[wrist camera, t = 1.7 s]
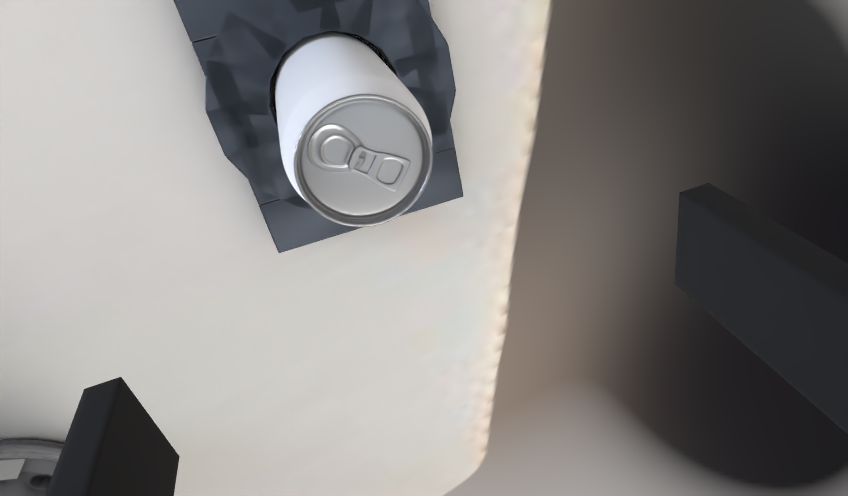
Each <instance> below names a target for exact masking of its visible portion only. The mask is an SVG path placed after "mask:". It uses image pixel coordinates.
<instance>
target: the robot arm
mask: <svg viewBox="0 0 848 496" xmlns="http://www.w3.org/2000/svg"><path fill="white" fill-rule="evenodd" d="M675 284H676V285H677V286H678V287H679V288H680V289H681V290H683V291H684V292H685V293H686V294H687V295H689V297H691V298H692V299H693V300H694V301H695V302H696V303H697V304H699V305H700V306H701V307H702V308H703V309H704V310H706V311H707V312H708V313H709V314H710V315H711V316H712V317H714V318H715V319H716V320H717V321H718V322H719V323H721V324H722V325H723V326H724V327H725V328H726V329H727V330H729V331H730V332H731V333H732V334H733V335H734V336H735V337H737V338H738V339H739V340H740V341H741V342H742V343H744V344H745V345H746V346H747V347H748V348H749V349H751V350H752V351H753V352H754V353H755V354H756V355H757V356H759V357H760V358H761V359H762V360H763V361H764V362H765V363H767V364H768V365H769V366H770V367H771V368H772V369H773V370H775V371H776V372H777V373H778V374H779V375H780V376H782V377H783V378H784V379H785V380H786V381H787V382H788V383H790V384H791V385H792V386H793V387H794V388H795V389H797V390H798V391H799V392H800V393H801V394H802V395H803V396H805V397H806V398H807V399H808V400H809V401H810V402H811V403H813V404H814V405H815V406H816V407H817V408H818V409H820V410H821V411H822V412H823V413H824V414H825V415H826V416H828V417H829V418H830V419H831V420H832V421H834V422H835V423H836V424H837V425H838V426H839V427H840V428H842V429H843V430H844V431H845V432H846V433H847V434H848V264H847V263H846V262H844V261H842V260H841V259H839V258H837V257H835V256H834V255H832V254H830V253H829V252H827V251H825V250H823V249H822V248H820V247H818V246H816V245H815V244H813V243H811V242H810V241H808V240H806V239H804V238H803V237H801V236H799V235H797V234H795V233H794V232H792V231H790V230H789V229H787V228H785V227H784V226H782V225H780V224H778V223H777V222H775V221H773V220H771V219H769V218H768V217H766V216H765V215H763V214H761V213H759V212H758V211H756V210H754V209H753V208H751V207H749V206H747V205H746V204H744V203H742V202H741V201H739V200H737V199H735V198H734V197H732V196H730V195H728V194H727V193H725V192H723V191H721V190H720V189H718V188H716V187H715V186H713V185H711V184H709V183H707V184H704V185H701V186H698V187H695V188H692V189H689V190H686V191H683V192H680V196H679V214H678V232H677V250H676V268H675ZM178 462H179V455H178V454H177V453H176V451H175V450H174V448H173V447H172V446H171V444H170V443H169V442H168V440H167V439H166V438H165V436H164V435H163V433H162V432H161V431H160V429H159V428H158V427H157V425H156V424H155V423H154V421H153V420H152V418H151V417H150V416H149V414H148V413H147V412H146V410H145V409H144V407H143V406H142V405H141V403H140V402H139V401H138V399H137V398H136V397H135V395H134V394H133V392H132V391H131V390H130V388H129V387H128V386H127V384H126V383H125V382H124V380H123V379H122V377H119V378H116V379H113V380H110V381H107V382H104V383H101V384H98V385H95V386H92V387H89V388H86V389H84V392H83V394H82V397H81V400H80V402H79V405H78V408H77V410H76V413H75V416H74V419H73V421H72V424H71V427H70V429H69V432H68V435H67V437H66V440H65V443H64V444H62V443H57V442H51V441H42V440H26V439H16V440H0V496H174V489H175V483H176V476H177V469H178Z"/></svg>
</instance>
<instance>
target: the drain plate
mask: <svg viewBox="0 0 848 496" xmlns="http://www.w3.org/2000/svg"><path fill="white" fill-rule="evenodd" d="M174 2H175V5H176V7H177V9H178V12H179V14H180V17H181V19H182V22H183V24H184V26H185V29H186V31H187V34H188V36H189V38H190V41H191V42H192V45H193V48H194V50H195V53H196V55H197V57H198V60H199V62H200V65H201V67H202V69H203V72H204V74H205V77H206V113H207V115H208V117H209V120H210V122H211V124H212V126H213V129H214V131H215V133H216V136H217V138H218V140H219V143H220V145H221V147H222V150H223V152H224V154H225V156H226V157H227V159H228V160H229V161H230V162H231V163H233V164H234V165H235V166H236V167H237V168H238V169H239V170H240V171H241V172H242V173H243V174H244V175H245V176H246V177H247V178H248V180H249V183H250V185H251V187H252V190H253V192H254V195H255V197H256V199H257V202H258V204H259V207H260V209H261V212H262V214H263V216H264V219H265V221H266V224H267V226H268V228H269V231H270V233H271V236H272V238H273V240H274V243H275V245H276V248H277V250H278V252H279V253H281V252H284V251H287V250H291V249H294V248H297V247H300V246H304V245H307V244H310V243H313V242H317V241H320V240H323V239H326V238H330V237H333V236H336V235H339V234H343V233H346V232H349V231H352V230H356V229H359V228H362V227H354V226H347V225H342V224H339V223H336V222H333V221H331V220H329V219H327V218H325V217H323V216H322V215H320V214H319V213H318V212H316V211H315V210H314V209H313V208H312V207H311V206H310V205H309V204H308V203H307V202H306V201H305V200H304V199H303V198H302V197H301V196H300V195H299V194H298V193H297V191H296V190H295V189H294V187H293V186H292V184H291V182H290V180H289V178H288V176H287V174H286V171H285V168H284V165H283V161H282V156H281V149H280V141H279V132H278V123H277V116H276V113H275V110H274V108H273V105H272V102H271V99H270V85H271V78H272V76H273V74H274V72H275V70H276V68H277V66H278V64H279V62H280V60H281V58H282V56H283V54H285V53H286V52H287V51H288V50H290V49H291V48H292V47H293V46H294V45H296V44H297V43H298V42H299V41H301V40H302V39H303V38H305V37H309V36H313V35H317V34H320V33H324V32H328V31H336V32H342V33H348V34H355V35H359V36H360V37H362V38H363V39H365V40H366V41H368V42H370V43H371V44H373V45H374V46H376V47H377V48H378V50H379V51H380V53H381V54H382V55H383V57H384V58H385V60H386V61H387V65H388V68H389V69H390V70H391V71H392V72H393V73H394V74H395V75H396V76H397V78H398V79H399V80H400V81H401V82H402V83H403V84H404V85H405V87H406V88H407V89H408V90H409V91H410V92H411V94H412V95H413V96H414V97H415V99H416V100H417V101H418V103H419V104H420V106H421V107H422V109H423V111H424V113H425V115H426V117H427V120H428V122H429V126H430V130H431V135H432V151H433V164H432V171H431V175H430V178H429V181H428V183H427V185H426V187H425V189H424V191H423V193H422V194H421V196H420V197H419V198H418V200H417V201H416V202H415V203H414V204H413V205H412V206H411V207H410V208H409V209H408V210H407V211H405V212H404V213H403V214H401V215H404V214H408V213H411V212H414V211H417V210H421V209H424V208H427V207H430V206H433V205H437V204H440V203H443V202H446V201H450V200H453V199H456V198H459V197H463V191H462V185H461V180H460V174H459V168H458V163H457V157H456V152H455V148H454V147H455V146H454V140H453V135H452V129H451V124H450V117H451V112H452V107H453V102H454V97H455V91H456V89H455V83H454V77H453V71H452V65H451V59H450V53H449V47H448V44H447V42H446V40H445V38H444V37H443V35H442V34H441V32H440V30H439V29H438V27H437V25H436V24H435V22H434V21H433V19H432V17H431V13H430V7H429V1H428V0H174ZM401 215H399V216H401Z"/></svg>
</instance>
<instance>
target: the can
mask: <svg viewBox="0 0 848 496" xmlns="http://www.w3.org/2000/svg"><path fill="white" fill-rule="evenodd" d="M275 101H276V112H277V123H278V132H279V141H280V149H281V156H282V161H283V165H284V168H285V171H286V174H287V176H288V178H289V180H290V182H291V184H292V186H293V187H294V189H295V190H296V191H297V193H298V194H299V195H300V196H301V197H302V198H303V199H304V200H305V201H306V202H307V203H308V204H309V205H310V206H311V207H312V208H313V209H314V210H315V211H316V212H318V213H319V214H320V215H322V216H323V217H325V218H327V219H329V220H331V221H333V222H336V223H339V224H342V225H347V226H354V227H366V226H374V225H378V224H382V223H385V222H388V221H390V220H392V219H394V218H396V217H398V216H399V215H401V214H403V213H404V212H405V211H407V210H408V209H409V208H410V207H411V206H412V205H413V204H414V203H415V202H416V201H417V200H418V198H419V197H420V196H421V194H422V193H423V191H424V189H425V187H426V185H427V183H428V181H429V178H430V175H431V171H432V164H433V151H432V135H431V130H430V126H429V122H428V120H427V117H426V115H425V113H424V111H423V109H422V107H421V106H420V104H419V103H418V101H417V100H416V99H415V97H414V96H413V95H412V94H411V92H410V91H409V90H408V89H407V88H406V87H405V85H404V84H403V83H402V82H401V81H400V80H399V79H398V78H397V76H396V75H395V74H394V73H393V72H392V71H391V70H390V69H389V68H388V66H387V65H386V64H385V63H384V62H383V61H382V60H381V59H380V58H379V57H378V56H377V55H376V53H375V52H374V51H373V50H372V49H370V48H369V47H368V46H367V45H366V44H365V43H363V42H362V41H360V40H358V39H356V38H355V37H352V36H350V35H347V34H343V33H338V32H324V33H320V34H317V35H313V36H309V37H306V38H304V39H302V40H301V41H299V42H298V43H297V44H296V45H294V46H293V47H292V48H291V49H290V50H288V51H287V52H286V54H285V55H284V57H283V58H282V60H281V62H280V65H279V68H278V71H277V75H276V82H275Z"/></svg>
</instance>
